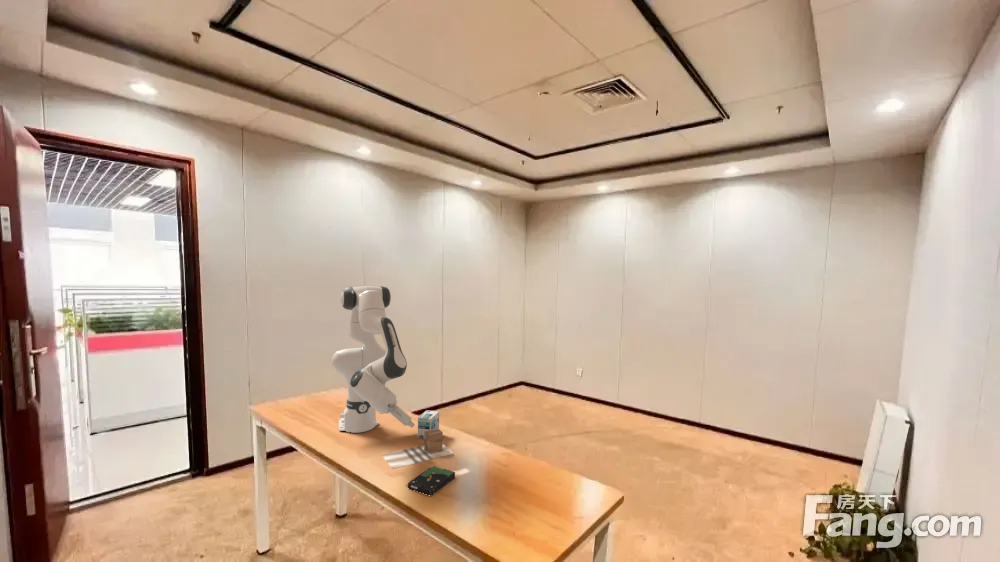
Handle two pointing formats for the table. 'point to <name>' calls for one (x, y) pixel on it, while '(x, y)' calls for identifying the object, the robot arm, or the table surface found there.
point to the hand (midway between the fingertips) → (408, 422)
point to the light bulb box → (427, 422)
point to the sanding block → (433, 440)
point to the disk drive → (431, 480)
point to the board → (413, 456)
